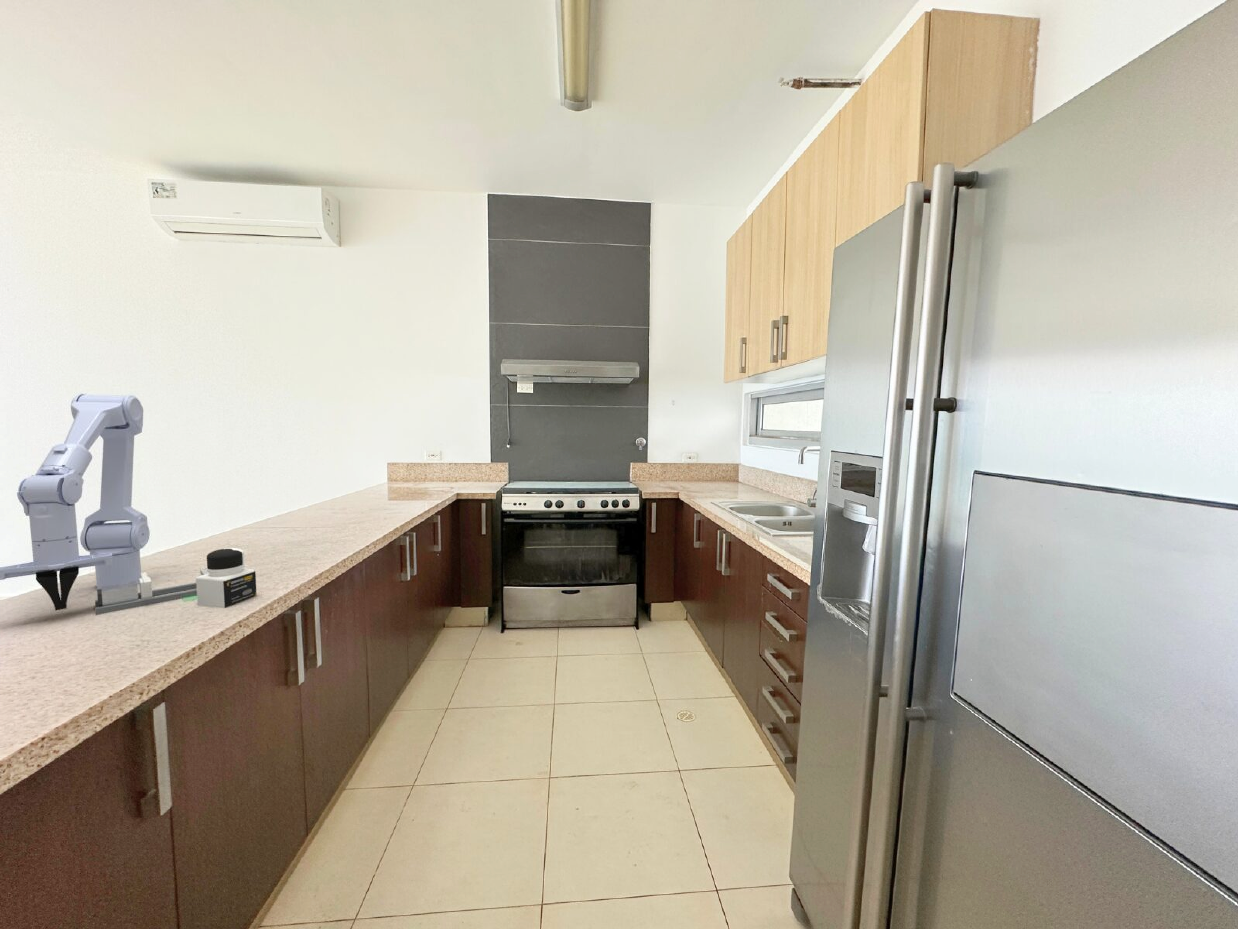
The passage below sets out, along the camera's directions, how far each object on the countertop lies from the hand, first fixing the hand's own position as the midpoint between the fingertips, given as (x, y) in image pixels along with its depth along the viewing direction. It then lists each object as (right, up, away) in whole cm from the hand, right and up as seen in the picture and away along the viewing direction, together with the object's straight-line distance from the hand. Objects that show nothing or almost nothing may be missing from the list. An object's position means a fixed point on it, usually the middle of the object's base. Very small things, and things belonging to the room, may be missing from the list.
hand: (61, 608), depth 94 cm
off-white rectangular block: (+8, -1, +9) cm, 12 cm away
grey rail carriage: (+5, -1, +6) cm, 8 cm away
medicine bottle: (+24, -3, +10) cm, 26 cm away
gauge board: (+9, -2, +10) cm, 14 cm away
